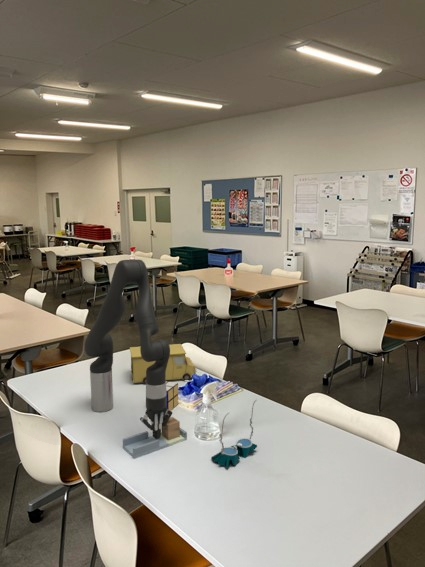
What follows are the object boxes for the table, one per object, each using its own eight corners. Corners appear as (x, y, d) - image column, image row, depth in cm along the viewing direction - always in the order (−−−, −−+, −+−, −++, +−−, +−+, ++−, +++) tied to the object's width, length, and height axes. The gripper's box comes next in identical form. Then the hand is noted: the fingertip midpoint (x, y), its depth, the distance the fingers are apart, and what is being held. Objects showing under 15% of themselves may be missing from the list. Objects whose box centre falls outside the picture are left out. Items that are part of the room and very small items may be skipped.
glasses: (226, 472, 151) (227, 415, 148) (207, 461, 157) (207, 406, 154) (261, 451, 164) (262, 399, 161) (242, 442, 170) (242, 391, 167)
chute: (122, 447, 166) (122, 438, 165) (174, 430, 179) (174, 422, 178) (134, 458, 159) (134, 449, 158) (186, 439, 172) (186, 431, 171)
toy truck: (195, 386, 223) (195, 357, 221) (124, 386, 224) (123, 356, 222) (198, 370, 247) (198, 343, 244) (133, 369, 247) (132, 342, 245)
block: (161, 435, 173) (161, 420, 172) (172, 431, 176) (172, 416, 175) (168, 440, 169) (168, 425, 168) (179, 436, 172) (179, 421, 171)
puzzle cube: (147, 409, 198) (147, 387, 196) (158, 400, 207) (158, 379, 205) (168, 413, 194) (167, 391, 192) (178, 404, 203) (178, 382, 202)
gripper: (166, 386, 173) (166, 429, 176) (135, 394, 165) (136, 439, 168) (176, 393, 167) (177, 437, 170) (144, 401, 159) (145, 447, 162)
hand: (156, 438), depth 169 cm, fingers closed
